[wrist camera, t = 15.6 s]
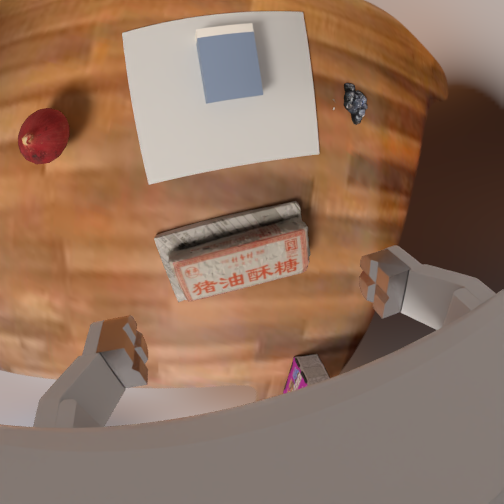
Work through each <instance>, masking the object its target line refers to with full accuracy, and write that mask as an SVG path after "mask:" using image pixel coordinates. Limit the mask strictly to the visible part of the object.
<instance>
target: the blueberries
mask: <svg viewBox="0 0 504 504" xmlns="http://www.w3.org/2000/svg"><path fill="white" fill-rule="evenodd" d="M344 89H345V95H344V107H345V108H346V109H347V110H348V111H349V112H350V113H351V117H352V121H353V123H354V124H356V125H357V124H359V123H360V122H361V120H362V117H363V116H364V114H365V110H366V109H367V104H366V102H367V99H366V98H365V96H364V95H363V93H361V92H360V91H358V90H357V91H355V85H353V84H351V83H345V84H344ZM333 100H334V99H333ZM334 102H335V101H334ZM334 109H335V108H333V110H334Z"/></svg>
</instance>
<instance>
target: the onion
mask: <svg viewBox="0 0 504 504" xmlns="http://www.w3.org/2000/svg"><path fill="white" fill-rule="evenodd" d="M68 139H69V124H68V122H67V119H66V117H65V116H64V115H63V114H62V113H61V112H60V111H58V110H55V109H52V108H46V109H40V110H38V111H36V112H34V113H33V114H31V115H30V116H29V117H28V118H27V119H26V120H25V122H24V123H23V125H22V126H21V129H20V132H19V135H18V146H19V149H20V152H21V154H22V155H23V156H24V157H25V159H26V160H28V161H30V162H33V163H35V164H44V163H50V162H51V161H53V160H54V159H56V158H57V157H59V156H60V155H61V153H62V152H63V150H64V149H65V147H66V145H67V142H68Z"/></svg>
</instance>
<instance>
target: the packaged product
mask: <svg viewBox="0 0 504 504" xmlns="http://www.w3.org/2000/svg"><path fill="white" fill-rule="evenodd" d="M154 240H155V243H156V246H157V249H158V251H159V254H160V257H161V260H162V262H163V265H164V268H165V270H166V273H167V275H168V278H169V280H170V283H171V285H172V288H173V290H174V293H175V295H176V297H177V300H178V302H180V301H183V300H188V301H193V300H198V299H203V298H207V297H211V296H215V295H220V294H223V293H227V292H230V291H235V290H239V289H242V288H246V287H250V286H254V285H258V284H262V283H265V282H269V281H273V280H277V279H280V278H284V277H288V276H292V275H295V274H299V273H303V272H305V271H306V270H307V267H308V264H309V256H310V249H309V244H308V240H309V238H308V226H307V225H306V224H305V222H303V221H302V219H301V211H300V205H299V204H298V203H297V202H296V201H293V202H288V203H284V204H280V205H276V206H271V207H265V208H260V209H254V210H249V211H245V212H241V213H236V214H232V215H227V216H222V217H218V218H214V219H210V220H206V221H202V222H198V223H194V224H191V225H188V226H184V227H181V228H177V229H174V230H170V231H167V232H164V233H161V234H158V235H156V236H155V238H154Z"/></svg>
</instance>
